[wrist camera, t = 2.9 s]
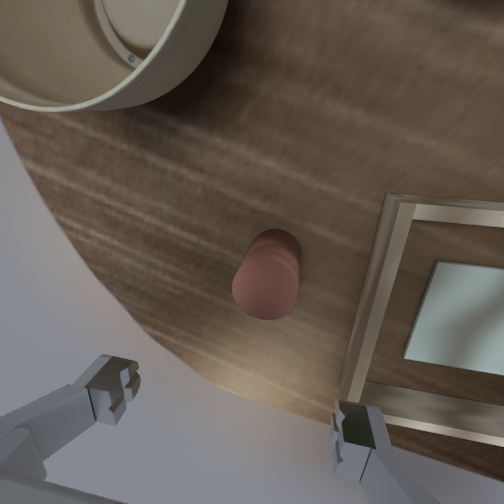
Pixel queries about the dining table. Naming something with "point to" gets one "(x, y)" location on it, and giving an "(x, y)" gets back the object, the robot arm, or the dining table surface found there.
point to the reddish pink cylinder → (268, 276)
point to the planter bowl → (100, 50)
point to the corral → (432, 323)
